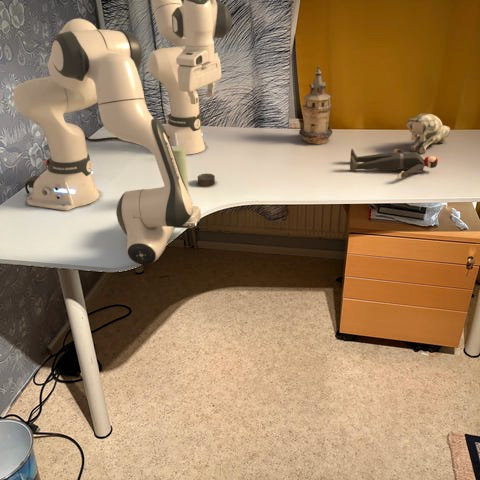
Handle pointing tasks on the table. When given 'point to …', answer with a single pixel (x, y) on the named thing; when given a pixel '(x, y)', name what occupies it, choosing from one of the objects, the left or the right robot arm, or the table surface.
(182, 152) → the pale green tall cylinder
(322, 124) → the miniature building
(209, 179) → the lid
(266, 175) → the table surface
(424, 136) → the figurine
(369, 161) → the toy
